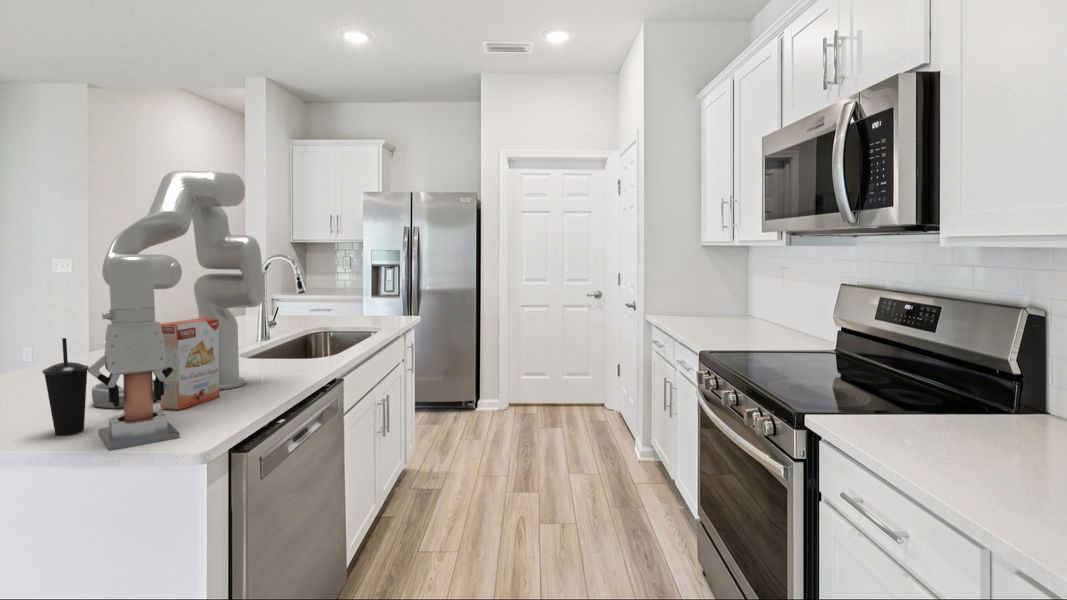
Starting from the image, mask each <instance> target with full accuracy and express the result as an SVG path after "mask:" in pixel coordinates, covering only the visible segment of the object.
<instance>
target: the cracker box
mask: <svg viewBox="0 0 1067 600" xmlns="http://www.w3.org/2000/svg"><path fill="white" fill-rule="evenodd" d="M160 324H161V328H162V332H163V338H164V345H165V351H166V352H168V353H169V354H171V355H172V356H174V357H175V358H177V359H178V360H180V363H179V364H178V365H177V367H176V368H175V369H174V370H173V371H172V373H171V374H170V375H169V376H168V377H167V378H166V379H165V381H164V395H162V396H161V401H159V403H160V409H164V410H174V411H181V410H184V409H188V408H190V407H193V406H196V405H199V404H202V403H205V402H209V401H212V400H215V399H218V398H221V397H220V395H221V393H220V391H221V390H220V379H219V320H218V319H214V318H199V317H198V318H191V319H185V320H184V319H183V320H178V321H170V322H163V323H162V322H161V323H160ZM169 363H170V361H169V360H167V359H166V365H165V367H164V368H163V369H160V370H161V371H163V370H164V369H165V368H166V367H167V366H168V365H169Z"/></svg>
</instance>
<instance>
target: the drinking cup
mask: <svg viewBox="0 0 1067 600" xmlns="http://www.w3.org/2000/svg"><path fill="white" fill-rule="evenodd" d="M61 340H62V357H63V362H58V363H56V364H53V365H51V366H49V367H47V368H44V369H43V370H42V374H43V375H44V379H45V383H46V391H47V396H48V402H49V407H50V412H51V418H52V423H53V430H54V434H55V436H57V437H58V436H60V437H64V436H65V437H66V436H72V434H73V435H77V434H80V433H83V432H84V431H85V421H86V420H85V419H86V418H85V417H86V399H87V396H86V395H87V384H88V383H87V380H88V369H89V368H90V367H89V365H86V364H82V363H79V362H72V361H68V344H67V341H68V340H67V337H62V338H61ZM83 430H84V431H83ZM82 431H83V432H82ZM79 432H80V433H79ZM76 433H77V434H76Z"/></svg>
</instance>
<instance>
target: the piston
mask: <svg viewBox="0 0 1067 600" xmlns="http://www.w3.org/2000/svg"><path fill="white" fill-rule="evenodd" d="M122 375H123V388H124V407H123V414H124V421H126V422H134V421H141V420H147V419H151V418H153V411H154V406H153V405H154V401H153V386H152V379H153V372H152V371H148V372H139V373H130V374H122Z"/></svg>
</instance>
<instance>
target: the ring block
mask: <svg viewBox="0 0 1067 600" xmlns="http://www.w3.org/2000/svg"><path fill="white" fill-rule="evenodd" d="M97 431H98V435H99V437H100V438H101V440H102V442H103V443H104V444H105V446H106V448H107V449H108V451H114V450H120V449H125V448H131V447H136V446H142V445H143V446H144V445H148V444H152V443H153V444H155V443H157V442H164V441H170V440H174V439H180V438H181V433H180V432H179V431H178V430H177V429H176V428H175V427H174V426H173V425H172V424H171V423H170V422H169V421H168V414H167V413H166V412H165V411H163V410H153V418H151V419H147V420H141V421H134V422H126V421H124V413H121V414H119V415H116V416H113V417H110V418H108V427H103V428H102V427H101V428H98V430H97Z"/></svg>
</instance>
